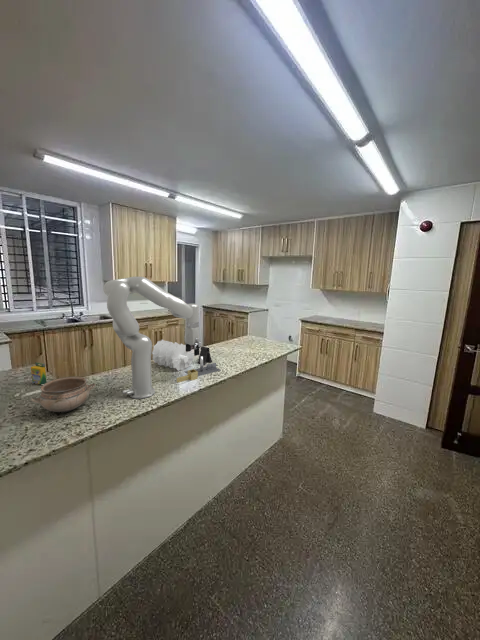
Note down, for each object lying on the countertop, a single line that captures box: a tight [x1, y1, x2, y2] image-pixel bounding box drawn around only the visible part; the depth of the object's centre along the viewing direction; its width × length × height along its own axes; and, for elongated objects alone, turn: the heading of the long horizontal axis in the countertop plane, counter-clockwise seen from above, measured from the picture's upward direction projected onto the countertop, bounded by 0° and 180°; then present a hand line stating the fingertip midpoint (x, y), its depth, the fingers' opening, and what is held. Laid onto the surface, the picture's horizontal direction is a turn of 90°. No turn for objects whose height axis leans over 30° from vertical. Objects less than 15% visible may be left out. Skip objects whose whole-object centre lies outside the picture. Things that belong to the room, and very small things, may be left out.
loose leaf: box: [176, 368, 199, 383], centre depth 159 cm, size 12×4×5 cm, turn 130°
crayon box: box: [30, 362, 48, 385], centre depth 149 cm, size 7×3×12 cm, turn 73°
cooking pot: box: [30, 376, 96, 414], centre depth 122 cm, size 25×19×12 cm
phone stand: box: [197, 345, 213, 366], centre depth 190 cm, size 9×6×12 cm, turn 143°
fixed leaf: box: [199, 356, 218, 372], centre depth 177 cm, size 12×3×10 cm, turn 130°
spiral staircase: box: [151, 338, 194, 372], centre depth 180 cm, size 18×18×25 cm
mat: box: [184, 365, 222, 377], centre depth 175 cm, size 21×12×1 cm, turn 130°
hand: (192, 353), depth 160 cm, fingers open, 9 cm apart
